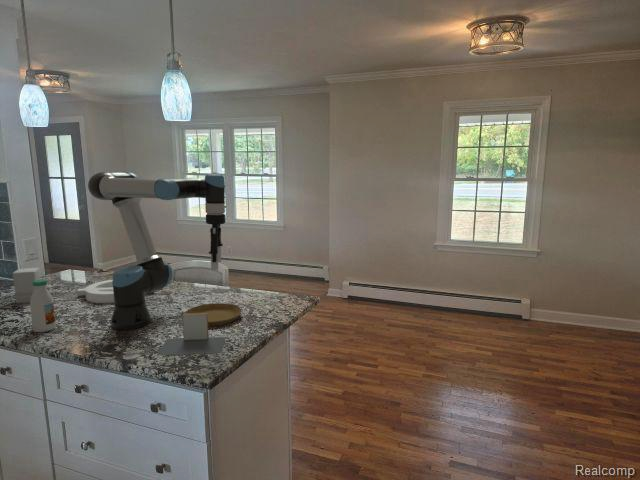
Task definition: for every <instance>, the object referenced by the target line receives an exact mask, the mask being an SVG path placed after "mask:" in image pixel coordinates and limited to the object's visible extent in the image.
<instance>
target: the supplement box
mask: <svg viewBox="0 0 640 480" xmlns="http://www.w3.org/2000/svg"><path fill="white" fill-rule="evenodd" d="M41 274H42V273H41V267H31V268H30V267H29V268H18V269H17V270H15V271H14V272H12V278H13V279H12V280H13V287H14V294H15V295H14V296H15V302H16V304H24V303H30V300H31V297H32V294H33V291H34V287H33V281H35V280H42V277H41V276H42V275H41Z"/></svg>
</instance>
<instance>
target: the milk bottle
mask: <svg viewBox="0 0 640 480" xmlns="http://www.w3.org/2000/svg"><path fill="white" fill-rule="evenodd" d="M47 286H48V282H47V279H44V278H43V279H42V278H41V280H35V281H33V287H34V291H33V294H32V297H31V300H30V302H29V305H30V306H29V307H30V317H31V326H32V331H33V332H35V333H45V332H50V331H53V330H54V329H55V328H56V327H57V326H56V323H57V322H56V314H55V305H54V299H53V296H52V294H51V293H50V292H49V290H48V288H47Z"/></svg>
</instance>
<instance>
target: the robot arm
mask: <svg viewBox="0 0 640 480" xmlns="http://www.w3.org/2000/svg"><path fill="white" fill-rule="evenodd" d="M225 180H226V179H225V176H224V175H223V174H216V173H215V174H211V173H210V174H207V173H206V174H205V176H204V178H193V177H187V178H145V177H144V178H140V177H139V176H138V175H137V174H135V173H134V172H129V171H128V172H127V171H113V172H112V171H110V172H109V171H108V172H107V171H102V172H97V173H94V174H93V175H92V176H91V177H90V178H89V180H88V183H87V188H88V191H89V193H90V194H91V195H92V196H93V197H94V198H96V199H98V200H101V201H111V202H112V205H113V207H115V208H117V209H118V211H119V213H120V217H121V219H122V222H123V225H124V227H125V231H126V235H127V237H128V239H129V242H130V245H131V248H132V250H133V254H134V256H135V259H136V262H135V263H134V265H129V266H123V267H120V268H118V269H116V270H115V271H114V272H113V274H112V280H113V281H112V284H113V293H114V308H113V312H112V314H111V319H110V325H111V328H112V329H114V330H118V331H128V330H135V329H141V328H143V327H146V326H148V325H149V324H150V323H151V322H152V316H151V314H150V311H149V308H148V306H147V303H146V295H147V294H151V293H154V292H157V291H160V290H163V289H164V288H166V287H168V286H169V285H170V284H171V283H172V280H173V276H174V275H173V269H172V266H171V265H170V264H169V263H168V262H167V261H164V260H163V257H162V256H161V255H159V254H157V251H156V248H155V245H154V242H153V239H152V236H151V234H150V230H149V228H148V225H147V222H146V219H145V217H144V214H143V210H142V207H141V205H140V202H141V200H142V199H158V200H159V199H160V200H162V201H173V200H179V199H181V200H182V199H190V198H191V199H192V198H193V199H194V198H200V199H201V198H202V199H205V203H204V204H205V208H204V209H205V213H206V214H205V223H206V225H207V224H208V225H211V227H210V231H209V232H210V251H208V254H209V255H210V270H211V271H219V263H221V262H222V247H223V243H222V237H221V236H222V228H221V225H224V224H226V214H225V212H226V209H227V205H226V197H225V196H226V195H225V193H226V185H225V184H226V181H225Z"/></svg>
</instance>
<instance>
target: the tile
mask: <svg viewBox="0 0 640 480" xmlns="http://www.w3.org/2000/svg"><path fill="white" fill-rule="evenodd" d="M182 332H183V338H184V340H207V339H209V338H210V336H209V326H208V313H199V314H185V313H183V314H182Z"/></svg>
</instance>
